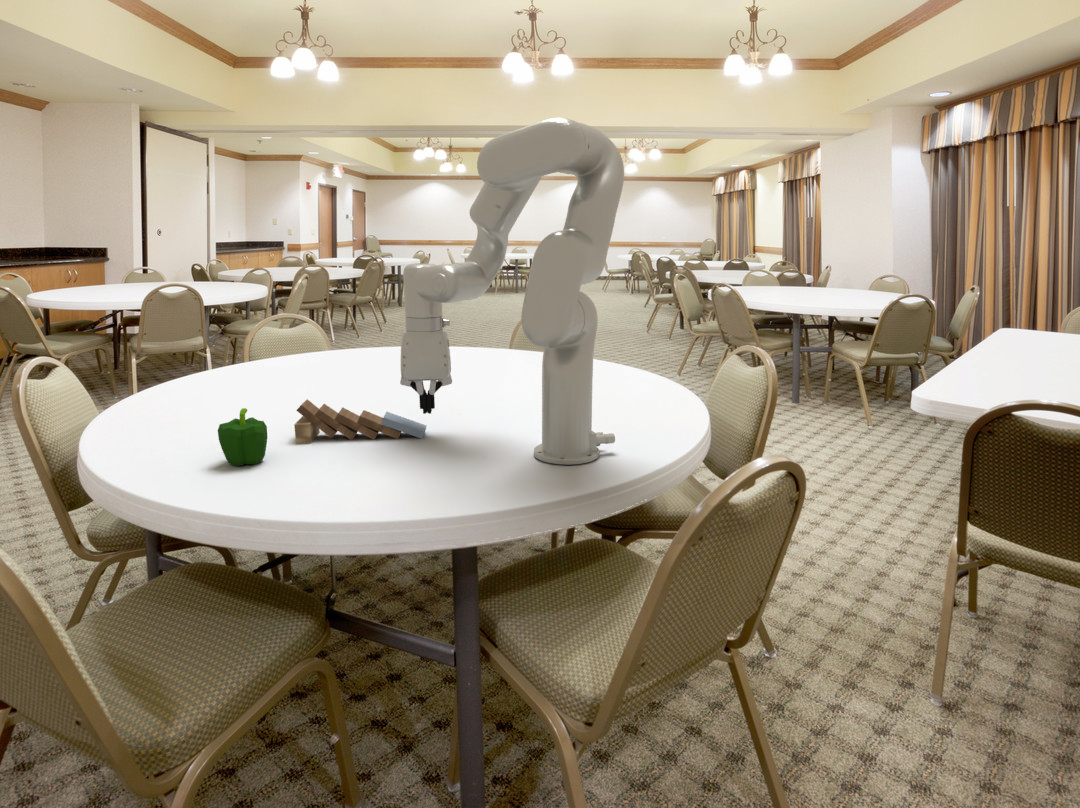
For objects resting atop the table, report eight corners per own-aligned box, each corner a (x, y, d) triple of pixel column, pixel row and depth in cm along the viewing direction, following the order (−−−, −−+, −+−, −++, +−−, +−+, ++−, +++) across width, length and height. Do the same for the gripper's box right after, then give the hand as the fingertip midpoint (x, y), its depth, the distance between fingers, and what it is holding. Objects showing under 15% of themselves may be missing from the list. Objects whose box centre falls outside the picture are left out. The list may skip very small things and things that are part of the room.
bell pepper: (253, 471, 128) (248, 417, 125) (212, 468, 129) (206, 415, 127) (279, 457, 136) (274, 406, 133) (240, 454, 137) (235, 404, 135)
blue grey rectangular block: (426, 425, 152) (386, 411, 151) (424, 431, 148) (383, 417, 146) (424, 432, 153) (384, 418, 151) (422, 438, 148) (380, 424, 146)
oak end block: (319, 432, 152) (318, 414, 152) (310, 443, 145) (309, 424, 144) (305, 432, 152) (303, 414, 151) (295, 443, 144) (294, 424, 144)
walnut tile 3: (360, 427, 151) (324, 403, 150) (356, 434, 147) (318, 409, 145) (355, 433, 152) (319, 409, 150) (351, 440, 147) (314, 415, 145)
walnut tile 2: (381, 426, 152) (342, 407, 150) (377, 433, 147) (338, 413, 145) (377, 433, 152) (339, 413, 150) (374, 439, 147) (334, 419, 145)
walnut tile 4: (341, 426, 151) (307, 399, 149) (336, 432, 146) (301, 404, 144) (336, 431, 151) (302, 404, 149) (331, 438, 146) (296, 410, 144)
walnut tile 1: (403, 426, 152) (363, 409, 151) (400, 432, 147) (359, 415, 146) (400, 432, 152) (360, 416, 151) (397, 439, 148) (356, 422, 146)
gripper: (461, 322, 149) (463, 407, 153) (389, 323, 148) (393, 408, 152) (460, 327, 142) (462, 415, 146) (384, 328, 141) (389, 417, 145)
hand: (427, 411), depth 149 cm, fingers closed
